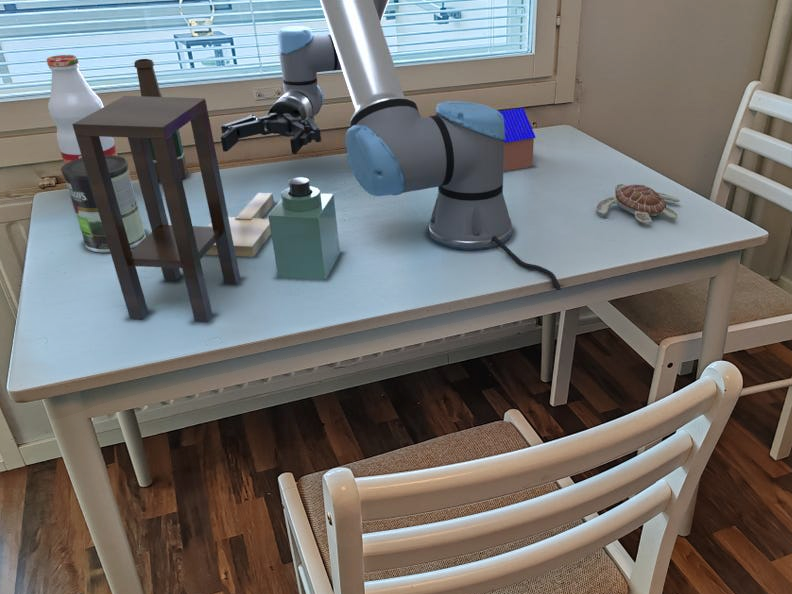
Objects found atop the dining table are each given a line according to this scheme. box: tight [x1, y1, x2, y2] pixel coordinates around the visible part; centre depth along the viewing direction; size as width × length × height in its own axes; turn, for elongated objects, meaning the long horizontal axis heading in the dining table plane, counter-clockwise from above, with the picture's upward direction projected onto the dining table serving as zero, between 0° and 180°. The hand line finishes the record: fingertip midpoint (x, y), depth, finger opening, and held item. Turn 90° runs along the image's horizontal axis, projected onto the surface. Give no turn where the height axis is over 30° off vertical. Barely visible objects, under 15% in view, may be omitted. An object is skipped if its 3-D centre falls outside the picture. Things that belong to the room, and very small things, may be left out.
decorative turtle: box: [595, 183, 681, 224], centre depth 145 cm, size 18×17×5 cm
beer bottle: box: [133, 58, 188, 183], centre depth 154 cm, size 8×8×24 cm
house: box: [498, 107, 536, 173], centre depth 165 cm, size 12×20×12 cm, turn 117°
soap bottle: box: [267, 185, 341, 281], centre depth 122 cm, size 10×8×13 cm
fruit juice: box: [46, 54, 118, 165], centre depth 138 cm, size 9×9×28 cm
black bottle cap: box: [288, 176, 311, 197], centre depth 118 cm, size 3×3×2 cm
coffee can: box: [60, 155, 147, 254], centre depth 129 cm, size 10×10×14 cm
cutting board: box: [204, 192, 275, 258], centre depth 138 cm, size 24×11×2 cm, turn 175°
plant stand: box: [72, 95, 241, 323], centre depth 108 cm, size 14×12×29 cm
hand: (258, 145), depth 142 cm, fingers open, 13 cm apart
